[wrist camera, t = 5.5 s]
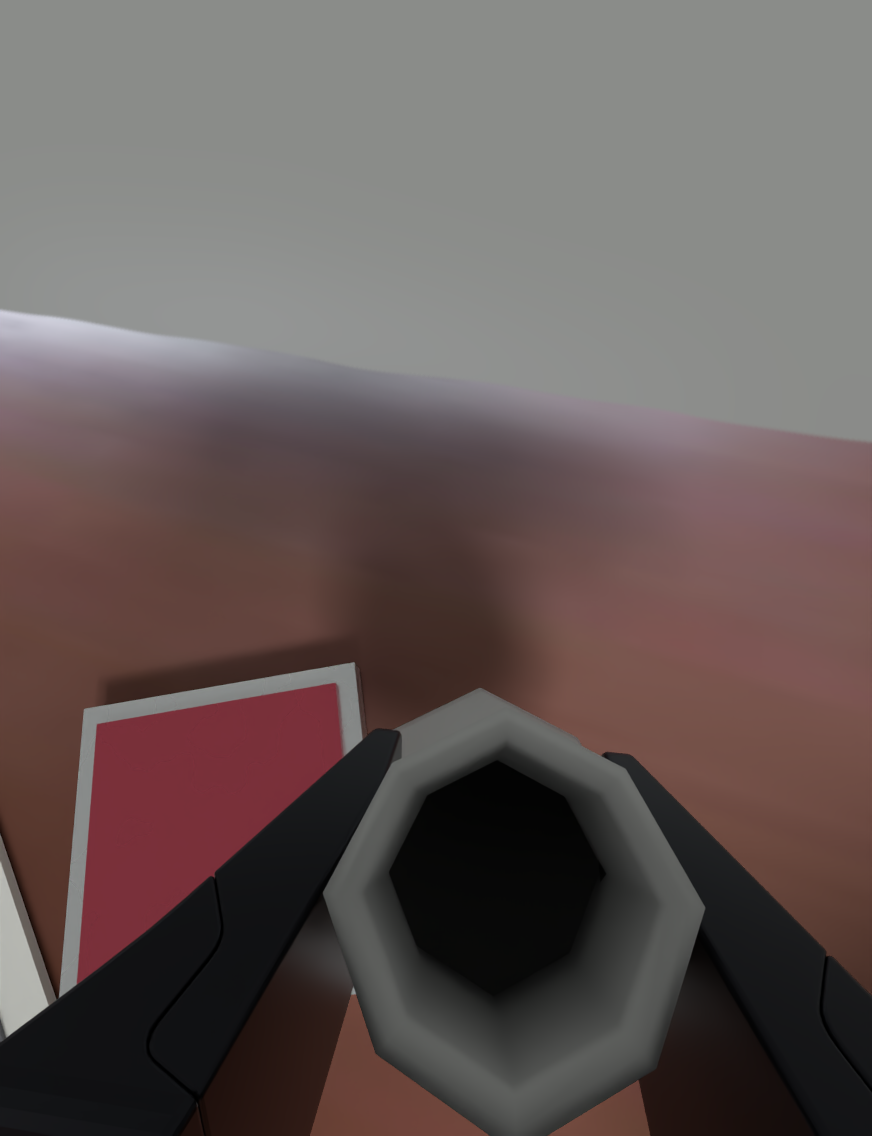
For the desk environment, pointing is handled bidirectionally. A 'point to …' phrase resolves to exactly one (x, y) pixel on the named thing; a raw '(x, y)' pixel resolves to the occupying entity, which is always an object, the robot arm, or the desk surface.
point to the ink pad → (190, 794)
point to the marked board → (18, 958)
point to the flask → (512, 919)
